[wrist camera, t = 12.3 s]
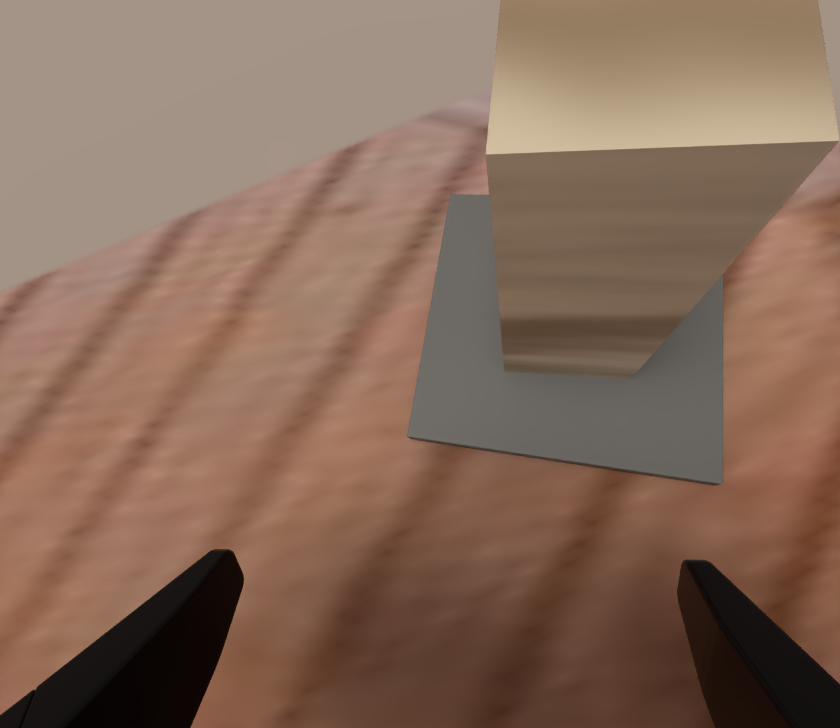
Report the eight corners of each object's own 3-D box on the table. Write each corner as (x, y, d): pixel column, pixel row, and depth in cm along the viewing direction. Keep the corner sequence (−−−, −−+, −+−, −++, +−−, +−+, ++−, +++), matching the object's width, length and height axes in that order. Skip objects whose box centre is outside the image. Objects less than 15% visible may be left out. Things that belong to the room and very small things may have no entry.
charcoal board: (716, 212, 21) (723, 201, 20) (713, 485, 18) (722, 483, 17) (452, 204, 24) (450, 194, 23) (410, 439, 21) (407, 436, 20)
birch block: (630, 379, 19) (839, 140, 7) (504, 371, 20) (486, 153, 8) (630, 267, 20) (802, -101, 8) (511, 265, 21) (506, -61, 9)
